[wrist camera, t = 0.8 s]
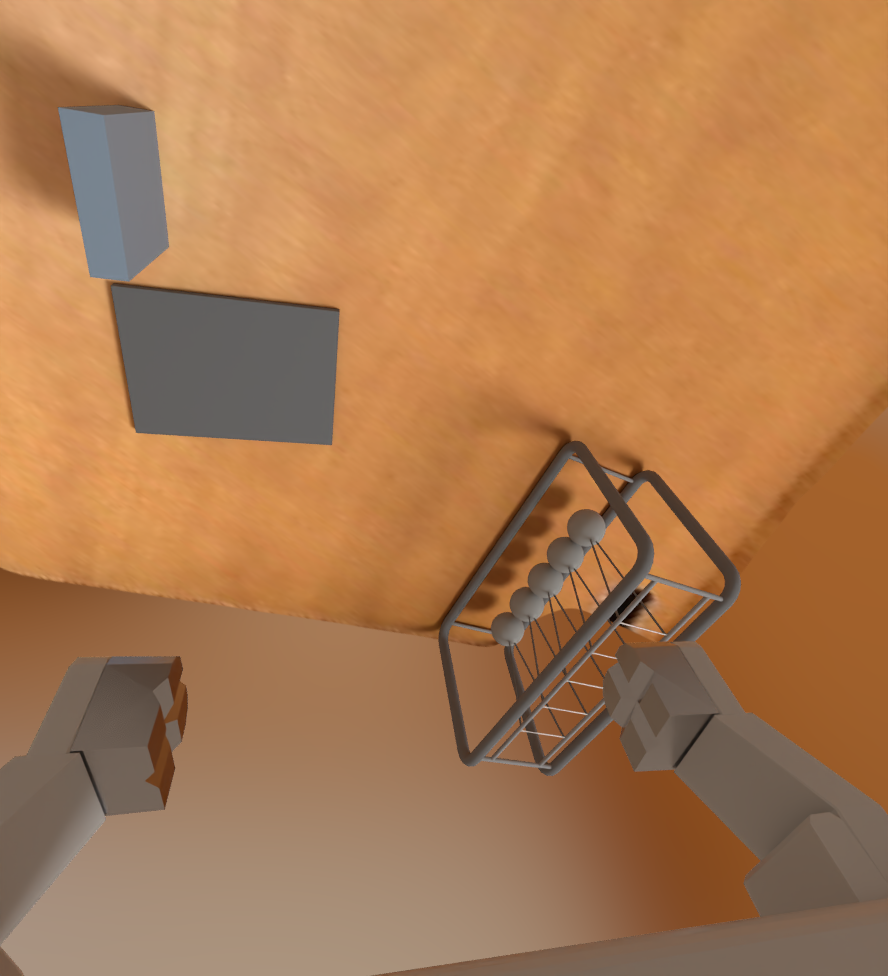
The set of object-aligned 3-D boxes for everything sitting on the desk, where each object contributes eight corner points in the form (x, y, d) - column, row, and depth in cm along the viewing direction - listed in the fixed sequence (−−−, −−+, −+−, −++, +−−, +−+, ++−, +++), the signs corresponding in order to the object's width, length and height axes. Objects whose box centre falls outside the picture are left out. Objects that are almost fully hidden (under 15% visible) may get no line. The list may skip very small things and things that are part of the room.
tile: (137, 242, 38) (88, 276, 31) (117, 104, 34) (56, 106, 27) (169, 246, 39) (128, 281, 31) (154, 111, 34) (103, 115, 27)
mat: (113, 283, 39) (110, 285, 39) (339, 309, 43) (339, 311, 42) (138, 429, 46) (135, 432, 46) (332, 441, 50) (331, 445, 49)
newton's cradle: (506, 646, 71) (548, 785, 56) (434, 630, 67) (459, 775, 53) (651, 463, 57) (755, 587, 43) (571, 430, 53) (656, 554, 39)
